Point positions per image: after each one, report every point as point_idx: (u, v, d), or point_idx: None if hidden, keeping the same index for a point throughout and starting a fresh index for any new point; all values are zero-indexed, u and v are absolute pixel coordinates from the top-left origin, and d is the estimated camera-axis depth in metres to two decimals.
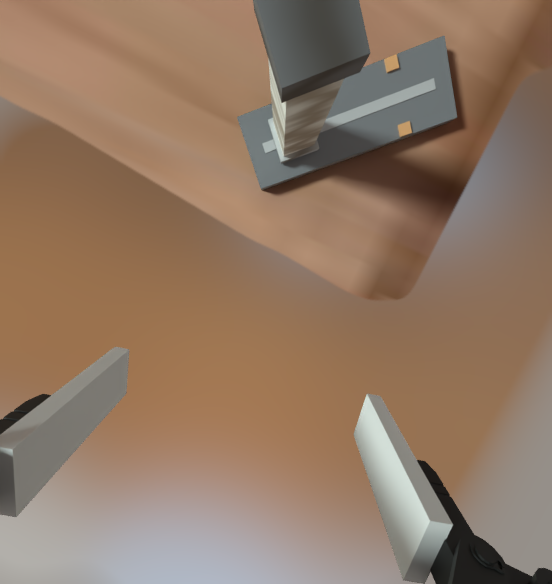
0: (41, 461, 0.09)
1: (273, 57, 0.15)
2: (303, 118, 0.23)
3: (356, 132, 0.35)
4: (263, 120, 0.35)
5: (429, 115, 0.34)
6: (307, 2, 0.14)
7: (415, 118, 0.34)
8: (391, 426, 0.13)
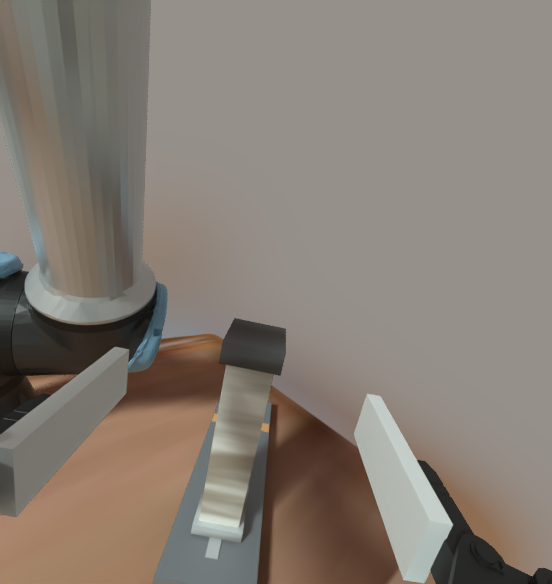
0: (41, 461, 0.09)
1: (266, 350, 0.22)
2: None
3: None
4: (183, 540, 0.27)
5: None
6: (249, 332, 0.24)
7: None
8: (391, 426, 0.13)
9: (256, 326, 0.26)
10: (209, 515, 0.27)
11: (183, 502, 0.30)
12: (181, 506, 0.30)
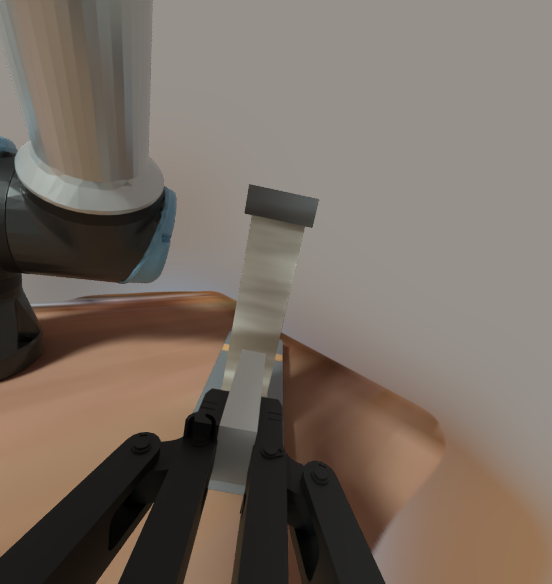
0: None
1: (297, 195, 0.19)
2: None
3: None
4: None
5: None
6: None
7: None
8: (257, 373, 0.15)
9: None
10: None
11: (197, 407, 0.28)
12: (196, 410, 0.27)
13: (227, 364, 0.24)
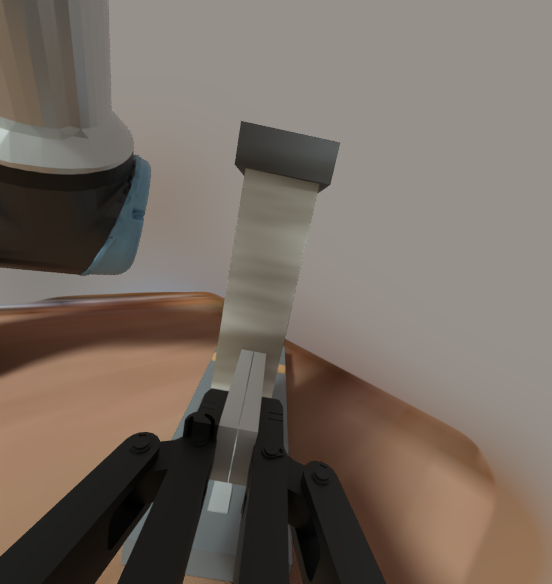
0: None
1: (309, 137, 0.14)
2: None
3: None
4: None
5: None
6: None
7: None
8: (258, 373, 0.15)
9: None
10: None
11: None
12: None
13: (214, 376, 0.18)
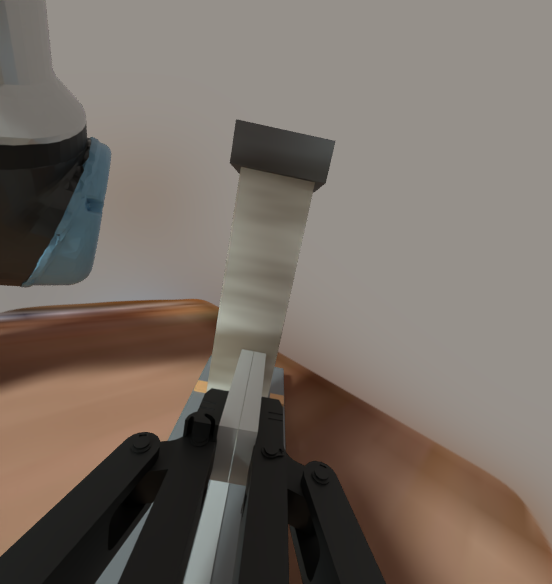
0: None
1: (305, 135, 0.14)
2: None
3: None
4: None
5: (272, 381, 0.31)
6: None
7: (269, 390, 0.29)
8: (258, 373, 0.15)
9: None
10: None
11: None
12: None
13: (210, 375, 0.18)
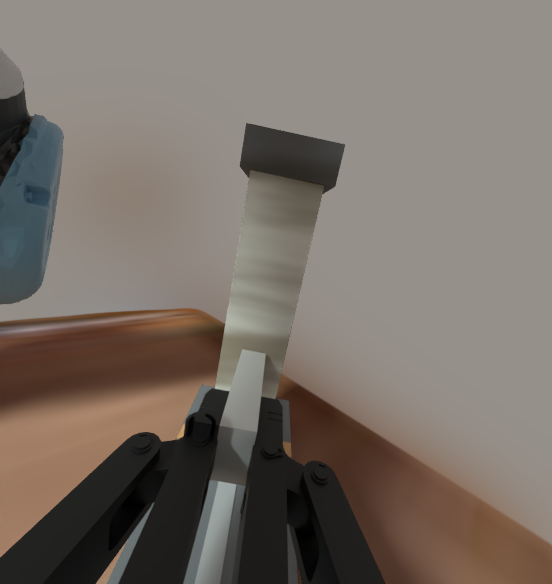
0: None
1: (315, 139, 0.14)
2: None
3: None
4: None
5: None
6: None
7: None
8: (257, 373, 0.15)
9: None
10: None
11: None
12: None
13: (218, 377, 0.18)
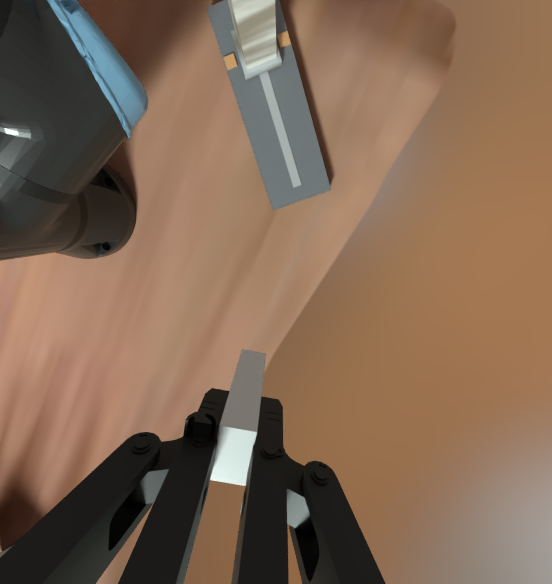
0: None
1: None
2: None
3: (285, 93, 0.37)
4: (275, 186, 0.40)
5: None
6: None
7: None
8: (257, 372, 0.15)
9: None
10: (253, 62, 0.34)
11: (259, 165, 0.40)
12: (260, 168, 0.40)
13: (242, 43, 0.30)
